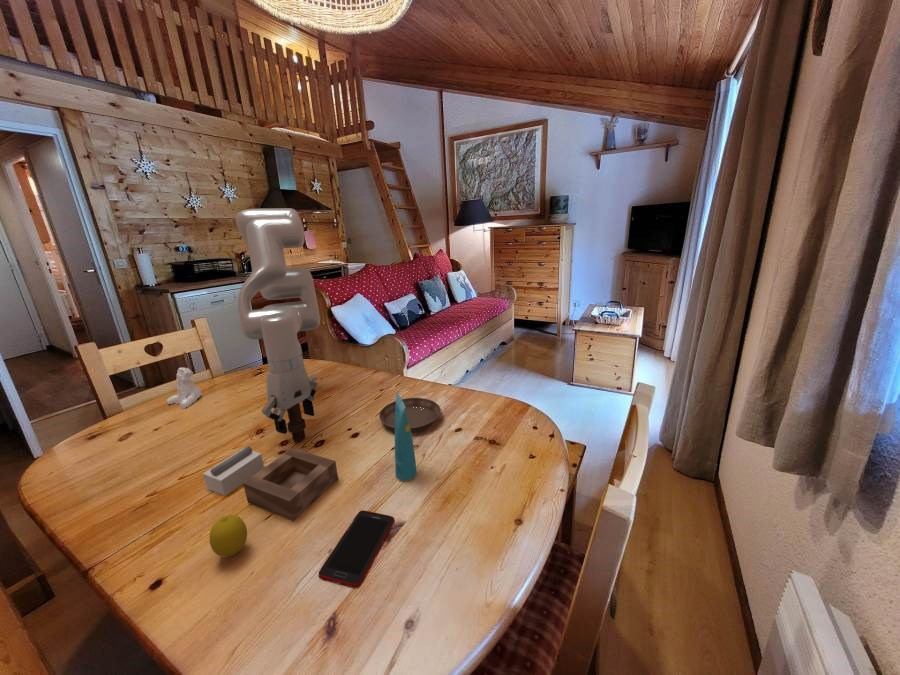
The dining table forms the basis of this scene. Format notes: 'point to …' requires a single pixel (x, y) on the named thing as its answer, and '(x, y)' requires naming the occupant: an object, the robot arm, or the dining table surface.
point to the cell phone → (357, 549)
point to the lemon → (228, 535)
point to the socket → (291, 483)
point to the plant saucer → (412, 413)
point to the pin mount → (233, 471)
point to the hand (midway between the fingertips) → (296, 423)
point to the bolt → (296, 421)
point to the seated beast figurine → (185, 389)
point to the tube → (403, 444)
